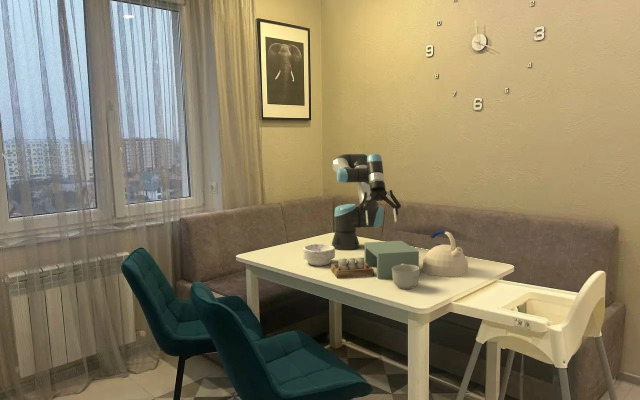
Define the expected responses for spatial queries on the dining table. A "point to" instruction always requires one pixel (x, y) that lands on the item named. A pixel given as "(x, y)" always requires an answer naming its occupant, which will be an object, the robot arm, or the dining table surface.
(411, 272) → the teacup
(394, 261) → the sage green box
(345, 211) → the robot arm
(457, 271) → the kettle
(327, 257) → the paper bowls
